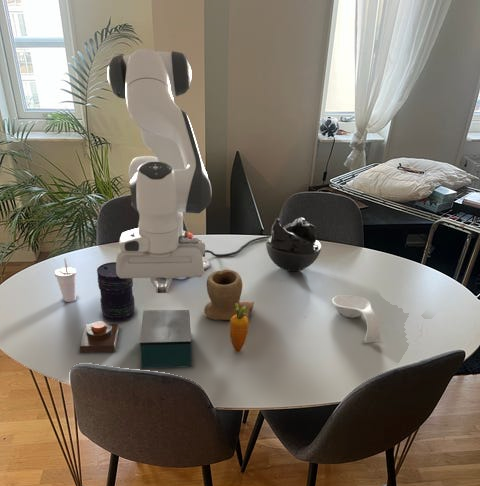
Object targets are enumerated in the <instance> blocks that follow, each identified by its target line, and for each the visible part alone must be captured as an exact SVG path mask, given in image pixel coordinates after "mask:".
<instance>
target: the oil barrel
mask: <svg viewBox="0 0 480 486" xmlns="http://www.w3.org/2000/svg"><path fill="white" fill-rule="evenodd" d="M96 274H97V286H98V289H99V292H100V308H101V309H100V310H101V312H102V318H103V319H104V320H105V321H107V322H111V323H123V322H127V321H129V320H131V319H133V318H134V317H135V315H136V310H135V308H136V307H135V306H136V302H135V296H134V294H133V293H134V291H133V287H134V282H133V281H134V278H120V277H118V275H117V274H116V261H112V262H111V261H110V262H106V263H103V264H101V265H99V266H98V267H97V269H96Z"/></svg>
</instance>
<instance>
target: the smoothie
mask: <svg viewBox="0 0 480 486" xmlns="http://www.w3.org/2000/svg"><path fill="white" fill-rule="evenodd" d="M63 260H64V261H63V262H64V267H59V268H58V269H55V271H54V277H55V278H56V279H57V283H58V286H59V290H60V292H61V295H62V299H63V301H64V302H66V303H70V302H71V303H72V302H74V301H76V300H77V274H78V273H77V269H76V268H74V267H70V266H68V263H67V258H63Z"/></svg>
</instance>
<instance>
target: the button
mask: <svg viewBox="0 0 480 486" xmlns="http://www.w3.org/2000/svg"><path fill="white" fill-rule="evenodd" d="M105 323H106V322H105V321H101V320H97V321H94V322H92V323H91V324H92V331H93V332H94V333H102V332H104V331H106V326H105Z"/></svg>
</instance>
